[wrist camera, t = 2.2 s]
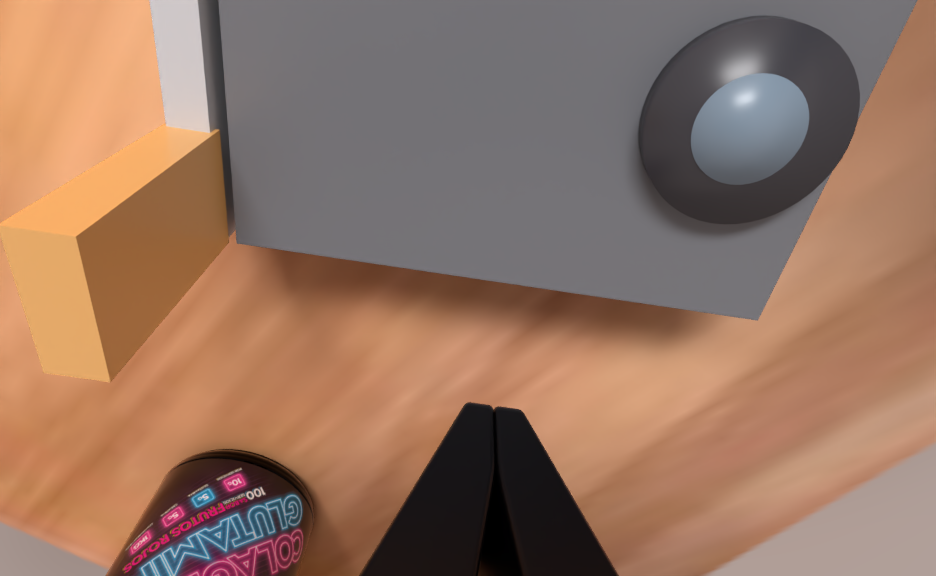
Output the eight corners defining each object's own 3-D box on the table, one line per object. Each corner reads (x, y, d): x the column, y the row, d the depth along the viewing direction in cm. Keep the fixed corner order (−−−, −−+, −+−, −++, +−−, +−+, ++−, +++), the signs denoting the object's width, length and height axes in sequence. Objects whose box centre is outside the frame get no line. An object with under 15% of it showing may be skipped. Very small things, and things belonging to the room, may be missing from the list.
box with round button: (877, -119, 14) (1008, -133, 10) (717, 257, 19) (766, 334, 15) (267, -226, 13) (180, -280, 10) (279, 191, 18) (227, 255, 15)
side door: (255, -266, 13) (-110, -540, 5) (272, 191, 18) (110, 382, 11) (198, -276, 13) (-254, -569, 5) (233, 185, 18) (43, 372, 11)
